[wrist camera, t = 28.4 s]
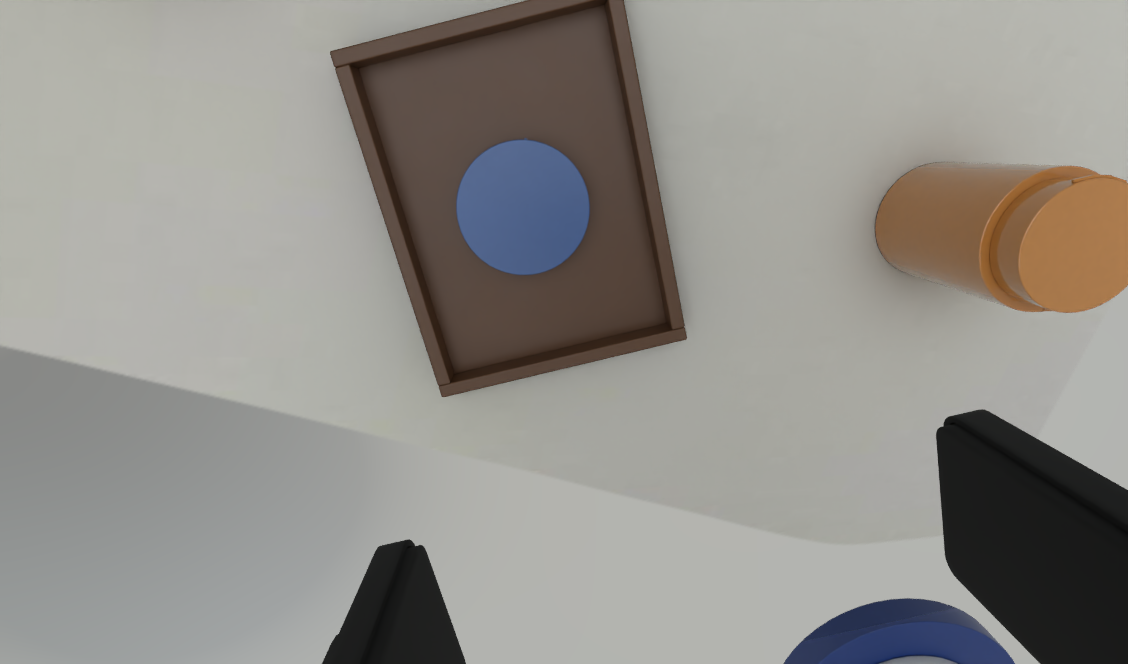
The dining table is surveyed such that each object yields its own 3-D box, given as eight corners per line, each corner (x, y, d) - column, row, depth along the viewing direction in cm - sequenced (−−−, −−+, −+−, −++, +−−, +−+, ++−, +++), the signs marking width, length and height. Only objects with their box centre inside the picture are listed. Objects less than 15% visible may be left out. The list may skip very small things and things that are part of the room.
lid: (460, 134, 30) (455, 134, 28) (590, 141, 30) (594, 141, 28) (461, 265, 31) (456, 272, 30) (583, 270, 32) (585, 277, 30)
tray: (679, 328, 33) (687, 339, 31) (447, 384, 34) (441, 398, 32) (614, -13, 28) (619, -25, 26) (342, 58, 29) (328, 51, 27)
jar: (987, 260, 33) (1160, 302, 24) (879, 286, 33) (1009, 338, 24) (984, 149, 31) (1169, 149, 22) (870, 177, 31) (1006, 188, 22)
